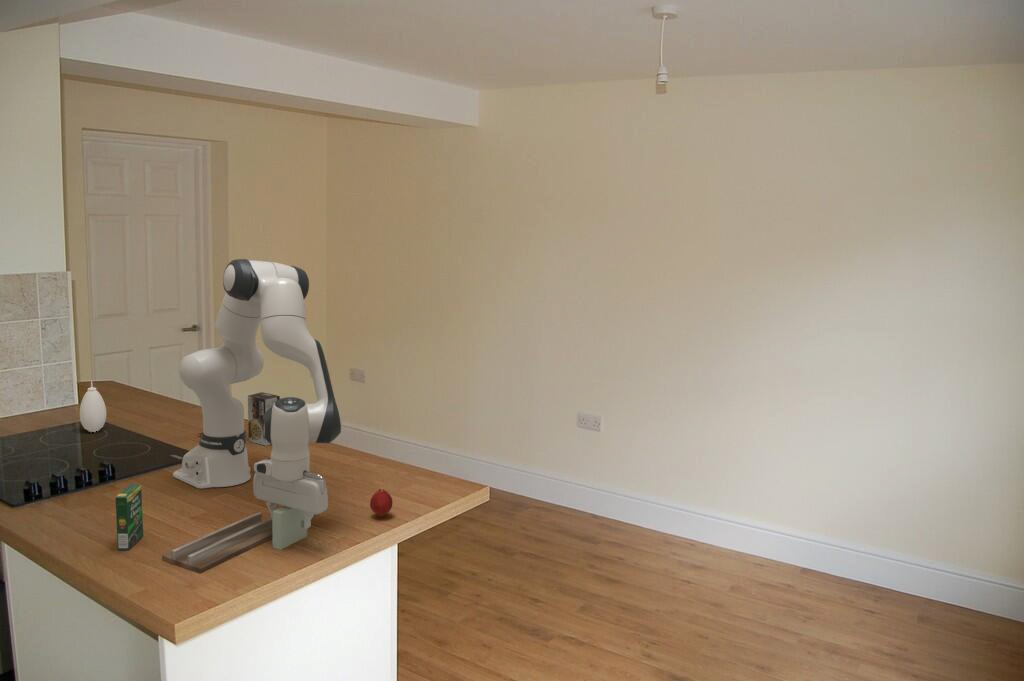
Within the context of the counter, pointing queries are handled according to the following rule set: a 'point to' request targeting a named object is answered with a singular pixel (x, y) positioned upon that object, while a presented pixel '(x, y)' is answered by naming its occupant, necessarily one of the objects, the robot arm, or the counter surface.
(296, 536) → the door panel
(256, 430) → the coffee box
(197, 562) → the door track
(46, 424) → the counter surface
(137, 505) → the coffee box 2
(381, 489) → the onion
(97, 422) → the sauce bottle
